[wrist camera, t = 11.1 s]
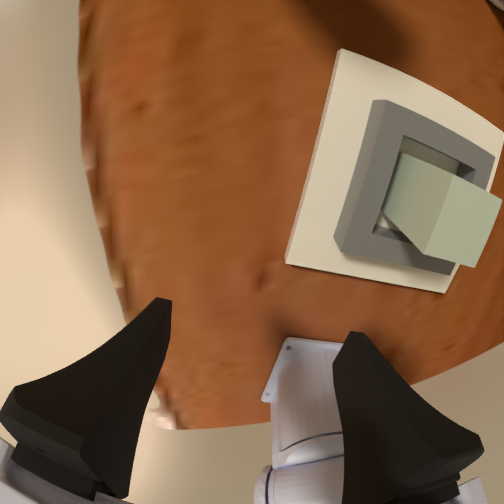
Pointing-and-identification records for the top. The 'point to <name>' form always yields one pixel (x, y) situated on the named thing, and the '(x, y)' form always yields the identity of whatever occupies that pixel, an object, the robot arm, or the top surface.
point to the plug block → (439, 210)
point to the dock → (382, 171)
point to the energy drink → (498, 3)
